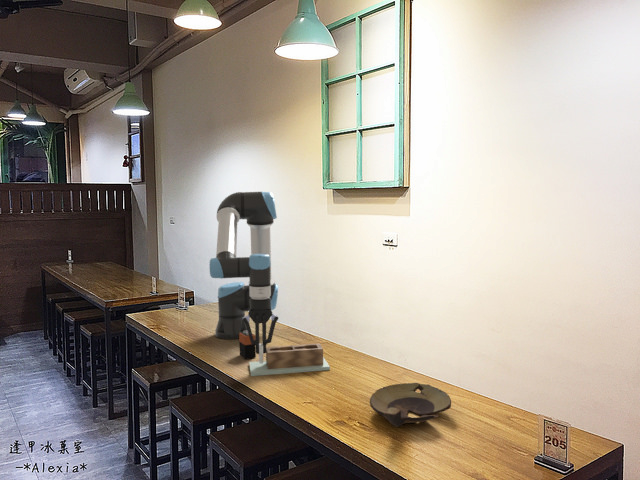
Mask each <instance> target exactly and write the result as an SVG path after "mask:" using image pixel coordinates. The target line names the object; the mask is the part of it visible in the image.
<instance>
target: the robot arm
mask: <svg viewBox="0 0 640 480" xmlns="http://www.w3.org/2000/svg"><path fill="white" fill-rule="evenodd" d="M277 218H278V216H277V210H276V202H275V196H274V194H273V193H272V192H270V191H245V192H243V191H238V192H233V193H231V194H229V195H228V196H226V197H225V198H224V199H223V200H222V201H221V202H220V204H219V205H218V207H217V210H216V220H217V222H218V224H217V226H218V228H217V240H216V242H217V243H216V255H215V257H212V258H210V260H209V276H210V278H212V279H221V280H223V279H234V278H235V279H239V278H249V281H248V285H245V283H244V282H243V281H240V282H239V281H237V282H235V281H233V282H231V283H226V284H223V285H220V286H219V288H218V289H217V291H218V292H217V299H218V300H217V301H218V305H217V306H218V320H217V324H216V327H215V331H214V332H215V333H214V335H215V337H216V338H218V339H221V340H222V339H224V340H233V339H234V340H236V339H239V333H241V332H243V331H244V330H247V331H248V334H249V338H250V341H251V344H255V351H256V355H258V361H259V364H260V363H263V361H264V354H266V347H267V345H268V344H271V343H272V340H273V335H274V331H275V327H276V323H277V322H278V321H279V316H278V315H276V314H274V313H273V310H274V311H275V309H276V308H277V303H278V294H279V293H278V292H279V285H278V284H276V282H275V279H274V278H272V259H271V258H272V257H271V256H272V254H271V252H272V251H271V249H272V248H271V247H272V246H271V242H272V241H271V226H272V225H273V224H274V220H276V219H277ZM240 220H246V224H247V225H248V227H250V230H249V232H250V253H251V254H250V255H249V257H248V256H247V257H246V256H245V257H241V256H240V257H237V243H238V242H237V241H238V223H239V222H240ZM246 312H248V314H247V315H246ZM250 319H251V321H252V322H253V323H254V327H255V328H254V329H255V331H254V333H255V334H254V335H255V340H254V339H253V335H252V334H253V332H252V329H251V325H250ZM270 319H271V322H270V327H269V330H268V335H267V322H269V320H270ZM260 324H261V326H262V327H261V329H262V331H261V335H262V337H261V339H262V341H261V342H262V343H260Z"/></svg>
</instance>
